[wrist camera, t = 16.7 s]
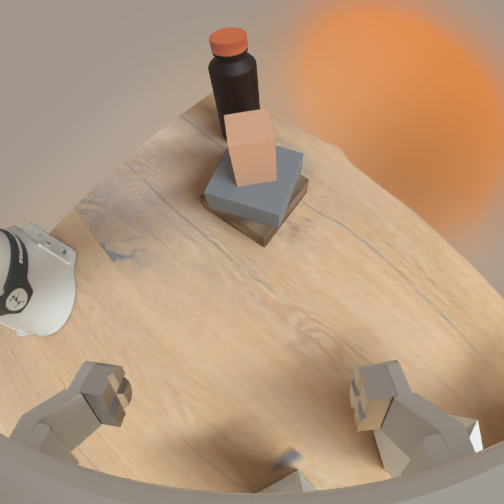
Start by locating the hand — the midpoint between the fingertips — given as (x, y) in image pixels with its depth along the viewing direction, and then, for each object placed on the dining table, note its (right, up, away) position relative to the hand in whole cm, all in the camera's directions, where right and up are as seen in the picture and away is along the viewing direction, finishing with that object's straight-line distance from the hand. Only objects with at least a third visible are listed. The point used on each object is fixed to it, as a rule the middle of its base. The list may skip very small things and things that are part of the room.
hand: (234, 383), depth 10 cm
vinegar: (-1, +25, +42) cm, 49 cm away
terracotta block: (+1, +15, +30) cm, 33 cm away
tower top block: (+1, +13, +33) cm, 36 cm away
